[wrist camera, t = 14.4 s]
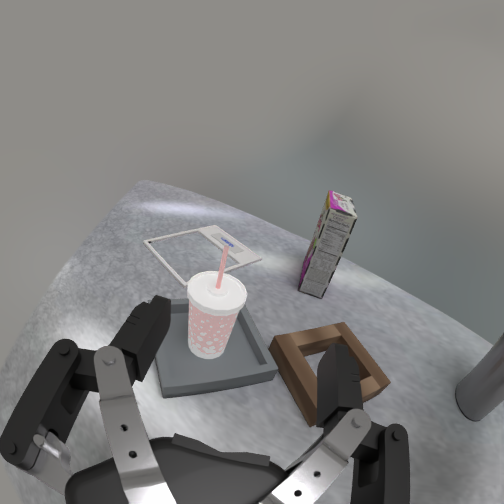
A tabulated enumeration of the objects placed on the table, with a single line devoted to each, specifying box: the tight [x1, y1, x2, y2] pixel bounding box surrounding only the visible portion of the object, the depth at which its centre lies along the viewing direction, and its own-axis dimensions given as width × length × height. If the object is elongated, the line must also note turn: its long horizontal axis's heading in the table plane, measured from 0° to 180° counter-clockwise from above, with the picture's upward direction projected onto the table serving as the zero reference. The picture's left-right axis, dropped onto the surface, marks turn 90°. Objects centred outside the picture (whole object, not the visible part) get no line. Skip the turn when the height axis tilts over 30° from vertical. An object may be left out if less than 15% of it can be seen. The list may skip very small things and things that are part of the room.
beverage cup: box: [187, 245, 247, 359], centre depth 28 cm, size 6×6×14 cm
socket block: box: [268, 322, 391, 427], centre depth 31 cm, size 12×12×3 cm
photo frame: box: [143, 225, 262, 288], centre depth 51 cm, size 15×1×18 cm
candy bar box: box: [298, 191, 357, 299], centre depth 47 cm, size 11×5×16 cm, turn 165°
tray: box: [148, 299, 278, 398], centre depth 31 cm, size 13×13×2 cm
